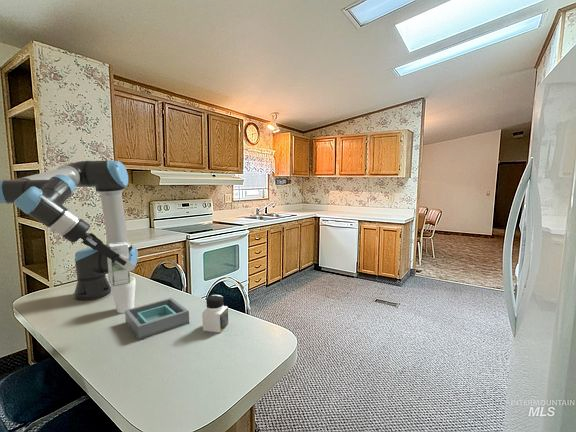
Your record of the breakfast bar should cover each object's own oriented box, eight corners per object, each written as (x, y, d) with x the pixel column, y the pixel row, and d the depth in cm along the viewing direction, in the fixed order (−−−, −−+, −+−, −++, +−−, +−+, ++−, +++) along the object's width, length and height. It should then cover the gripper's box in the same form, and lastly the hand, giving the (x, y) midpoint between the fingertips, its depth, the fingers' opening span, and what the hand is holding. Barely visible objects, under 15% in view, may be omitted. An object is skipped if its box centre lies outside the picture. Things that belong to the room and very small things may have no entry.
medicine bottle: (221, 333, 108) (219, 301, 106) (202, 331, 109) (201, 299, 108) (228, 323, 115) (227, 293, 113) (211, 322, 116) (210, 292, 115)
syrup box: (126, 279, 111) (123, 241, 109) (130, 283, 107) (128, 243, 105) (108, 283, 107) (105, 243, 106) (112, 287, 103) (109, 245, 101)
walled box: (125, 322, 117) (124, 310, 116) (171, 308, 129) (171, 297, 128) (139, 340, 104) (138, 326, 103) (189, 323, 115) (188, 311, 115)
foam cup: (115, 316, 122) (112, 286, 121) (110, 309, 129) (108, 280, 127) (140, 309, 128) (138, 280, 127) (134, 303, 135) (132, 275, 134)
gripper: (59, 232, 102) (117, 269, 115) (63, 240, 88) (128, 281, 100) (76, 215, 105) (131, 253, 117) (83, 220, 91) (144, 263, 103)
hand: (130, 266), depth 109 cm, fingers closed on syrup box, 6 cm apart
